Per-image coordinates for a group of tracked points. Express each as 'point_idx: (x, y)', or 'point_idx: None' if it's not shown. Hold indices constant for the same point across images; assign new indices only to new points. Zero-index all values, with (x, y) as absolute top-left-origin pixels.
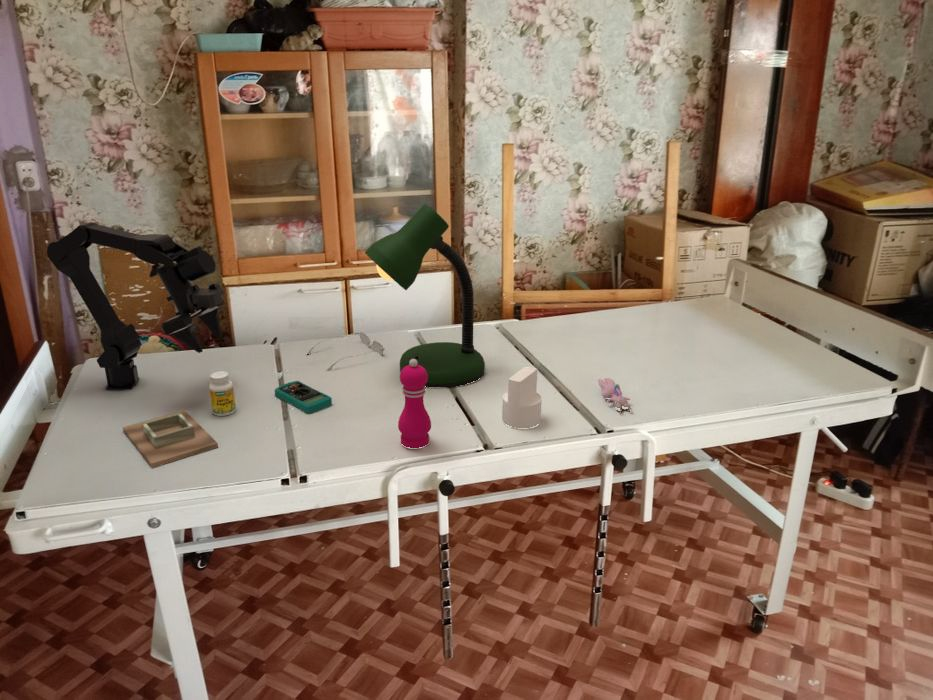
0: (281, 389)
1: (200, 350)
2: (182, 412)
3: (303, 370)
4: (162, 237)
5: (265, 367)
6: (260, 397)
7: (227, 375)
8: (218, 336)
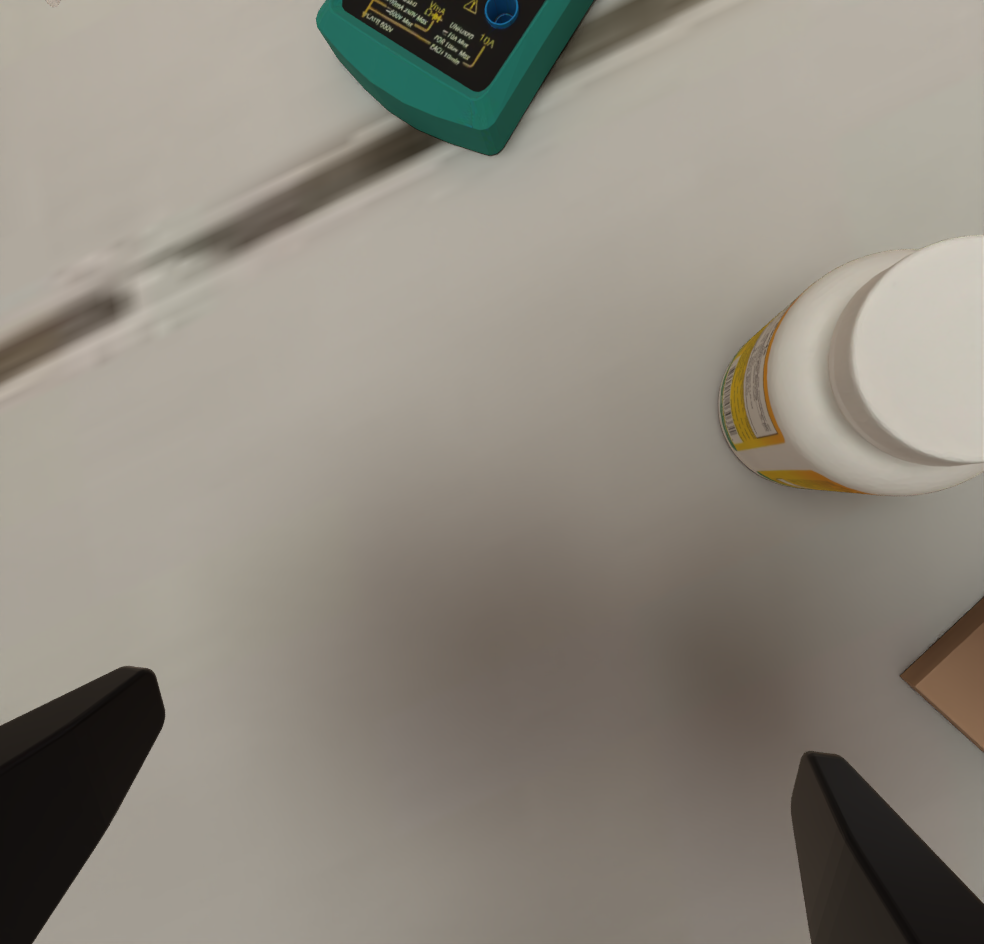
0: (488, 64)
1: (855, 788)
2: (961, 687)
3: (74, 151)
4: None
5: (67, 431)
6: (531, 250)
7: (970, 236)
8: (135, 726)
